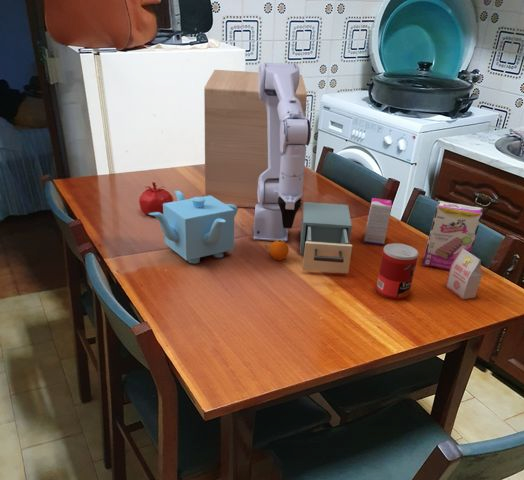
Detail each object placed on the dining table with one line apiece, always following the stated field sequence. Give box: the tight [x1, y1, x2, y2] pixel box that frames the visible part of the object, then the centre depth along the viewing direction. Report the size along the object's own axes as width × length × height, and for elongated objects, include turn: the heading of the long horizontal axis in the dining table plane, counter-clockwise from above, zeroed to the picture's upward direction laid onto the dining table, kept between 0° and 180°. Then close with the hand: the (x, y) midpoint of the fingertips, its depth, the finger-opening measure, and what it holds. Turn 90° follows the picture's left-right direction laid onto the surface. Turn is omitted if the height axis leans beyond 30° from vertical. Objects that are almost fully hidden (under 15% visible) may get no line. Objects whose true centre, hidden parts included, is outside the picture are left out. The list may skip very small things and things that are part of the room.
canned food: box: [376, 242, 419, 300], centre depth 128 cm, size 8×8×11 cm
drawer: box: [302, 225, 353, 274], centre depth 138 cm, size 20×11×7 cm, turn 176°
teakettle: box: [148, 190, 239, 264], centre depth 140 cm, size 19×19×15 cm
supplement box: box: [363, 197, 393, 246], centre depth 154 cm, size 6×6×12 cm
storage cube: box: [203, 69, 308, 209], centre depth 178 cm, size 34×29×34 cm
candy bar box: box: [422, 200, 484, 271], centre depth 140 cm, size 11×5×16 cm, turn 71°
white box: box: [445, 248, 483, 300], centre depth 131 cm, size 4×7×10 cm, turn 20°
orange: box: [269, 240, 290, 261], centre depth 142 cm, size 5×5×5 cm
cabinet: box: [299, 201, 353, 256], centre depth 150 cm, size 16×13×9 cm
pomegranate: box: [138, 181, 174, 216], centre depth 163 cm, size 10×10×9 cm
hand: (287, 227), depth 137 cm, fingers closed
